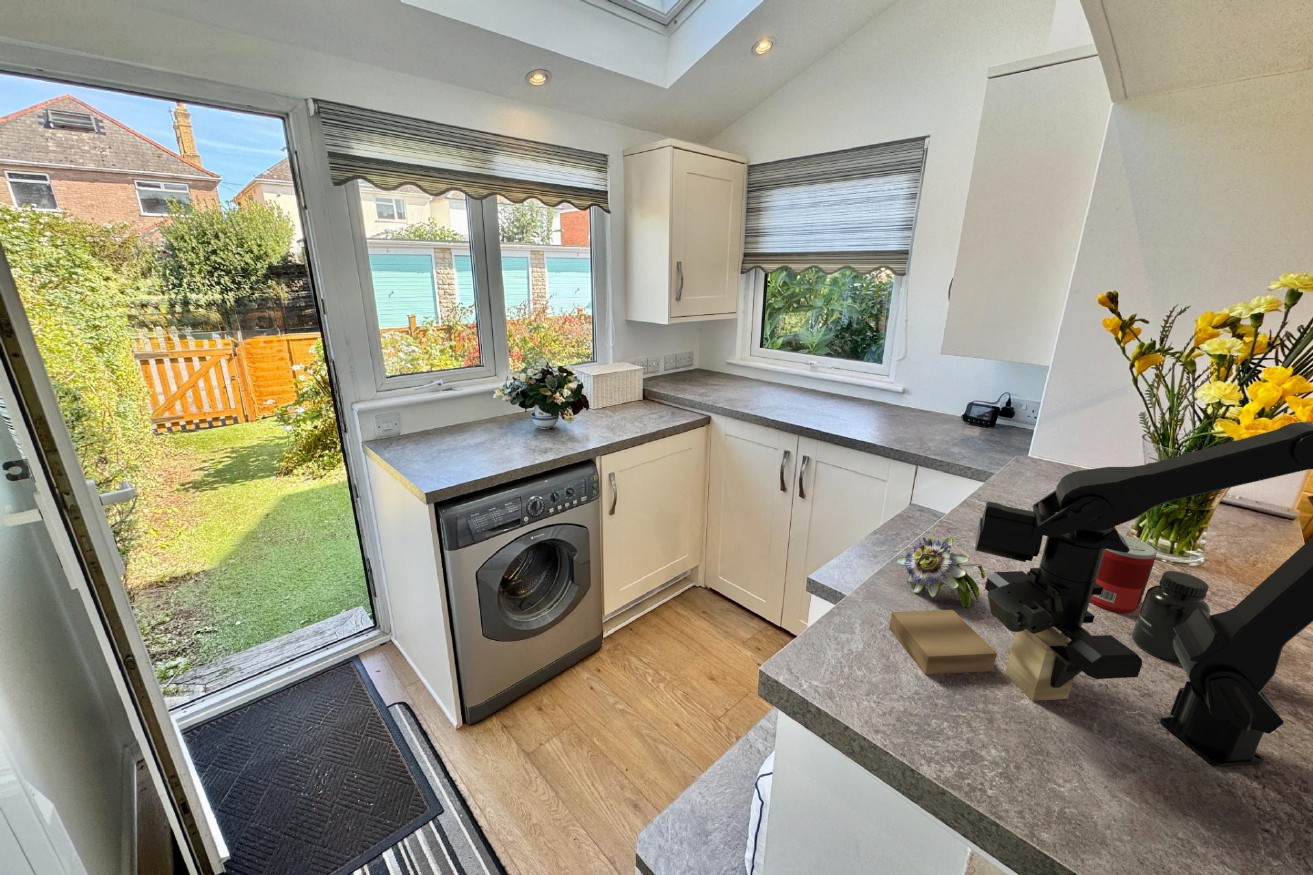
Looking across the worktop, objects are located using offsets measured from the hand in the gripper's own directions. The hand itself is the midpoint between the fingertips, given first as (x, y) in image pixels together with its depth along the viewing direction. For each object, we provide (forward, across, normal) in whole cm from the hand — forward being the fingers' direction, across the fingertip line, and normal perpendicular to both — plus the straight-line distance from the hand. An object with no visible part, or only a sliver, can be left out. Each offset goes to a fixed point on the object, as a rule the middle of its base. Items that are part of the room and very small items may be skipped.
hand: (1039, 672), depth 71 cm
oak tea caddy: (+2, 0, 0) cm, 2 cm away
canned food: (+2, -18, +28) cm, 33 cm away
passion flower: (+2, -23, 0) cm, 23 cm away
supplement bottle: (+2, -6, +25) cm, 26 cm away
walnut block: (+2, -8, -9) cm, 12 cm away
